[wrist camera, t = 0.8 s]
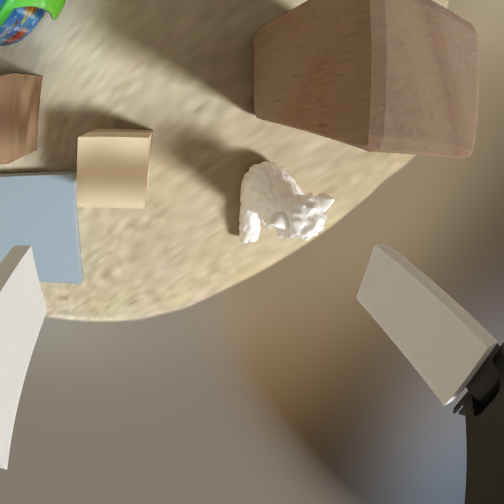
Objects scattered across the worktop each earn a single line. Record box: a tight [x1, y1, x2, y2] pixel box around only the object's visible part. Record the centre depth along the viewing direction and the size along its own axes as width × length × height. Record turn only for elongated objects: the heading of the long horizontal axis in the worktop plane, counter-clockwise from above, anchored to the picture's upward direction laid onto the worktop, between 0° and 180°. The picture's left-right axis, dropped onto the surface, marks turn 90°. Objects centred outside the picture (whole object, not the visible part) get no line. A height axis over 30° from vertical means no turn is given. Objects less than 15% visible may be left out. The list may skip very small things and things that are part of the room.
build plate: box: [0, 171, 83, 284], centre depth 27 cm, size 13×13×2 cm
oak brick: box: [77, 129, 153, 209], centre depth 25 cm, size 6×6×7 cm
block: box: [253, 0, 479, 159], centre depth 20 cm, size 10×10×20 cm
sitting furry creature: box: [238, 161, 334, 243], centre depth 29 cm, size 10×9×12 cm
